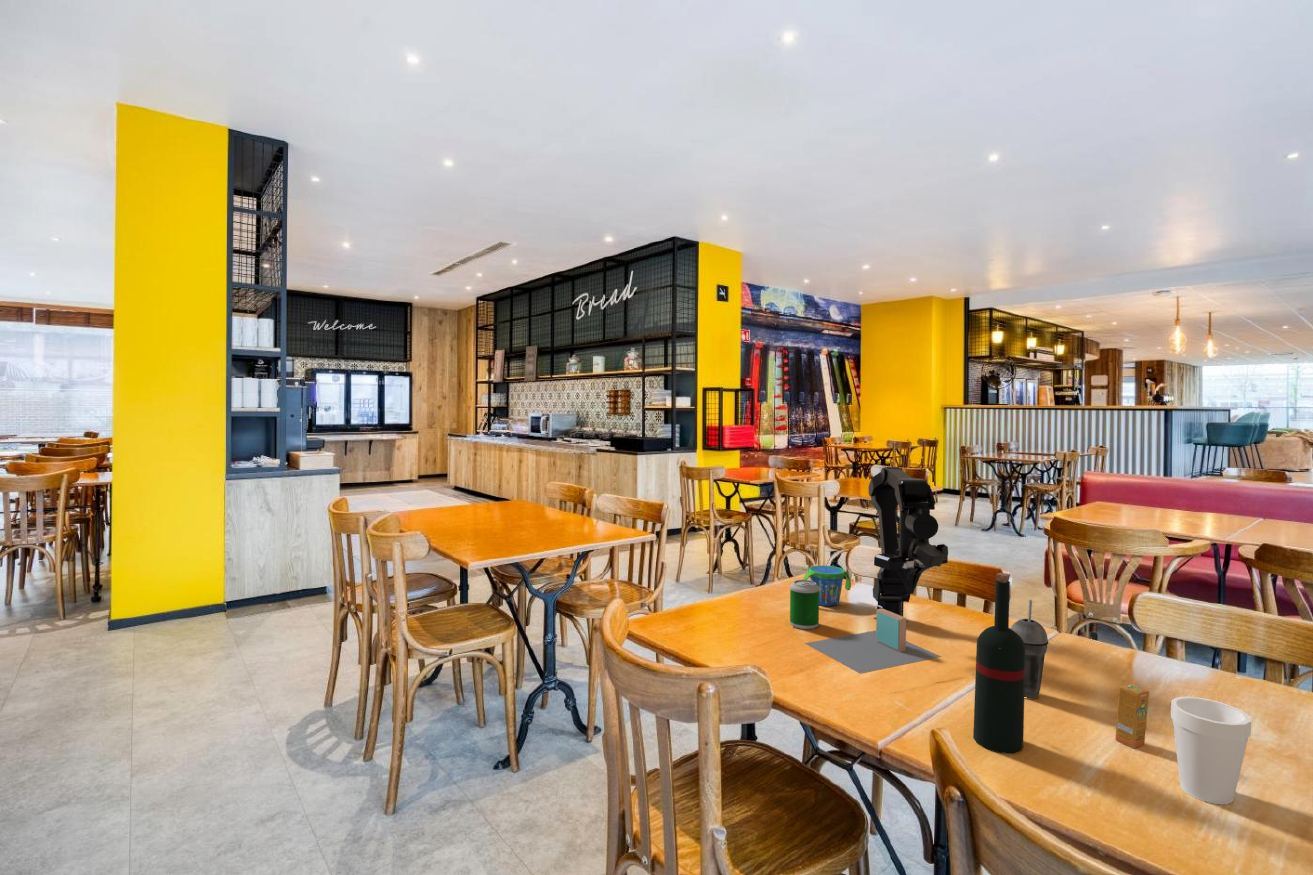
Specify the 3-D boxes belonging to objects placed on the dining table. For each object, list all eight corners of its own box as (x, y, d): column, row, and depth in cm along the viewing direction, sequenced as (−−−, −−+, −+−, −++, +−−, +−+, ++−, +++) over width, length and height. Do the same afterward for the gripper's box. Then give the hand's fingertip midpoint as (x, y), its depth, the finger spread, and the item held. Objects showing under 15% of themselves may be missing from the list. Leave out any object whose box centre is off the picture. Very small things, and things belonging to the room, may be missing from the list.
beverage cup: (1042, 689, 140) (1045, 595, 139) (1050, 704, 133) (1054, 605, 132) (1003, 684, 142) (1006, 591, 141) (1009, 699, 135) (1012, 601, 134)
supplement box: (1135, 749, 116) (1137, 693, 115) (1114, 740, 119) (1117, 685, 118) (1147, 745, 117) (1149, 689, 117) (1126, 736, 120) (1128, 682, 120)
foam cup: (1179, 802, 101) (1183, 718, 100) (1158, 770, 109) (1162, 692, 109) (1259, 816, 97) (1263, 729, 97) (1231, 782, 106) (1235, 702, 105)
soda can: (821, 632, 174) (822, 586, 174) (792, 632, 175) (793, 586, 174) (815, 622, 182) (815, 579, 181) (787, 622, 182) (787, 578, 181)
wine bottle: (1037, 740, 119) (1043, 573, 117) (1009, 758, 113) (1015, 583, 111) (993, 723, 125) (997, 564, 124) (964, 739, 119) (969, 573, 118)
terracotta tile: (881, 640, 167) (882, 608, 167) (905, 651, 160) (906, 617, 159) (875, 641, 166) (876, 609, 166) (899, 652, 159) (899, 619, 159)
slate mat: (880, 631, 175) (880, 629, 175) (941, 659, 156) (941, 656, 156) (804, 645, 165) (804, 643, 165) (860, 676, 147) (860, 673, 147)
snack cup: (841, 596, 206) (842, 563, 206) (859, 606, 196) (859, 572, 196) (794, 599, 203) (794, 566, 203) (809, 610, 193) (809, 575, 192)
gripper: (907, 540, 153) (905, 607, 154) (966, 533, 160) (965, 597, 161) (873, 531, 163) (871, 594, 164) (930, 525, 171) (929, 586, 171)
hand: (910, 593), depth 165 cm, fingers closed
